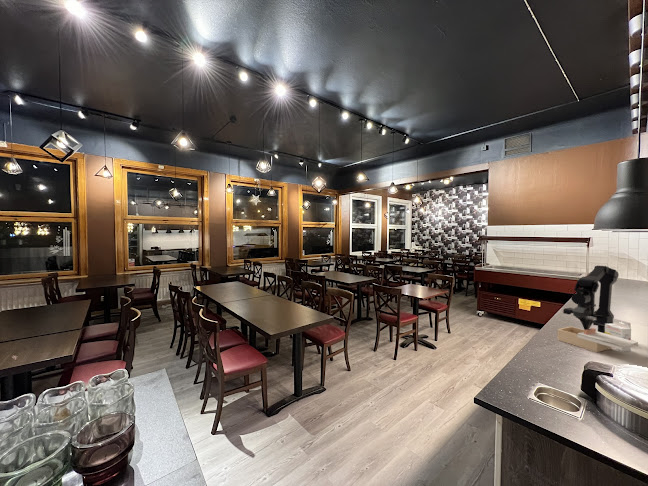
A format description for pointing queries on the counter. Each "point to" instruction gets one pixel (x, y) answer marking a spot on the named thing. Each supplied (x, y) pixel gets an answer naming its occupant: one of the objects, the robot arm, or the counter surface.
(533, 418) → the counter surface
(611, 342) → the lid
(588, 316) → the robot arm
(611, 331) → the ink cartridge box
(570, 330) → the wooden box
